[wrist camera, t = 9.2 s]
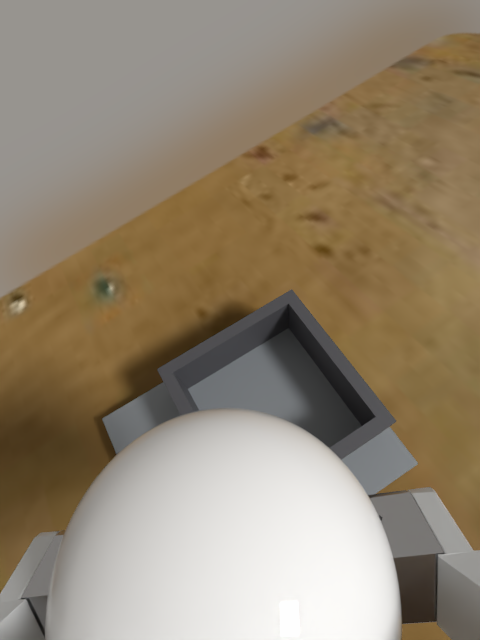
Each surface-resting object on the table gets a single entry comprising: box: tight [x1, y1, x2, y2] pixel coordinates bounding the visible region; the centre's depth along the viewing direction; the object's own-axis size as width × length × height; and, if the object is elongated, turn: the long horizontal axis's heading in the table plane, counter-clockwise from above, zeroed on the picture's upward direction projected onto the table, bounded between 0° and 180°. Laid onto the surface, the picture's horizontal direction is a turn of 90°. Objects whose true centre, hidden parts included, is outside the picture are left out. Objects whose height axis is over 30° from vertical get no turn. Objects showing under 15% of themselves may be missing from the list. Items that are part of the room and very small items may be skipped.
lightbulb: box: [45, 408, 402, 640], centre depth 10 cm, size 6×6×11 cm
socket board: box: [102, 290, 418, 495], centre depth 25 cm, size 17×14×6 cm
